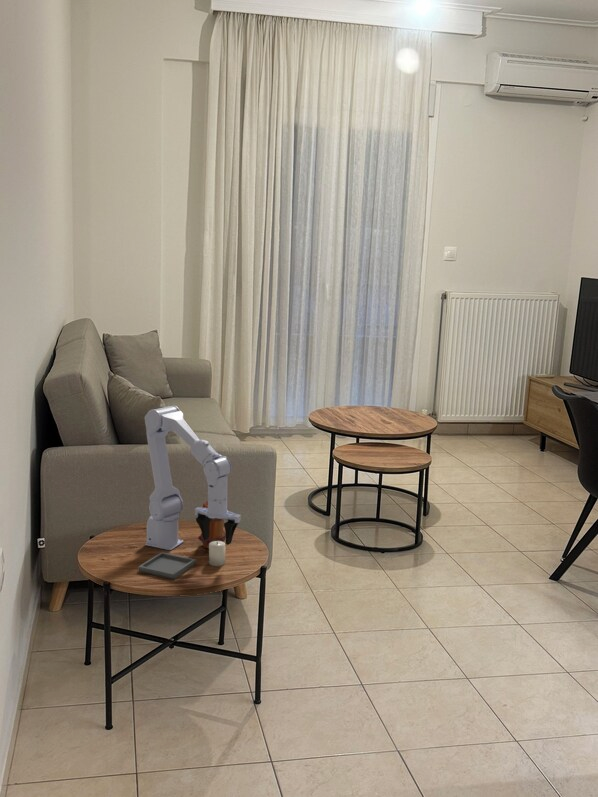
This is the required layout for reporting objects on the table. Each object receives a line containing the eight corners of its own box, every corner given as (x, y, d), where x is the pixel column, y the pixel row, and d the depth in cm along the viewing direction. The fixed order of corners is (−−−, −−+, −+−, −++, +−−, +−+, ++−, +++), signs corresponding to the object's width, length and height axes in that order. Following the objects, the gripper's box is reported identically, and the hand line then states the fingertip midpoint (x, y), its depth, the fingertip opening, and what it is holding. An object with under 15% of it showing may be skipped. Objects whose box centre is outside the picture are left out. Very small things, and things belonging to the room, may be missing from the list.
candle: (206, 564, 240) (206, 542, 238) (214, 558, 244) (214, 537, 243) (220, 567, 238) (220, 545, 237) (227, 561, 242) (228, 540, 241)
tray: (138, 571, 233) (138, 566, 233) (161, 556, 244) (161, 551, 244) (173, 579, 229) (173, 574, 228) (195, 564, 239) (195, 559, 239)
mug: (220, 553, 248) (221, 507, 245) (195, 550, 250) (195, 504, 247) (234, 536, 262) (234, 492, 259) (210, 533, 264) (210, 489, 261)
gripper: (189, 497, 236) (189, 541, 239) (232, 505, 230) (232, 550, 233) (201, 491, 242) (201, 533, 245) (244, 498, 237) (243, 542, 240)
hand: (217, 541), depth 240 cm, fingers open, 7 cm apart
